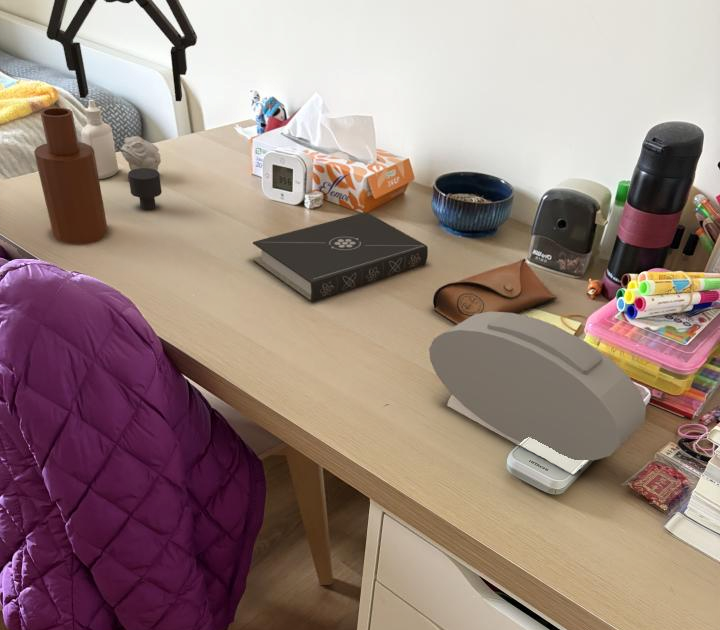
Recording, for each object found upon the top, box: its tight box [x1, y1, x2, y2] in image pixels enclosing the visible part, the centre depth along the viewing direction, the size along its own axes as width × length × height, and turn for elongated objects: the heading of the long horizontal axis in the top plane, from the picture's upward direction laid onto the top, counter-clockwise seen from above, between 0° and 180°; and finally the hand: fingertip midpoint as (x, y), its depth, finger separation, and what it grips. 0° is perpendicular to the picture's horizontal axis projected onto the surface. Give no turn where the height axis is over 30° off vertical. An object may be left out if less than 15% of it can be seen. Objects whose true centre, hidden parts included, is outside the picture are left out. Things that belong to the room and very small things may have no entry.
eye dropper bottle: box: [80, 99, 119, 180], centre depth 122 cm, size 4×6×12 cm
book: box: [252, 211, 429, 303], centre depth 106 cm, size 22×15×3 cm
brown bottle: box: [33, 107, 108, 245], centre depth 103 cm, size 8×8×17 cm
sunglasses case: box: [432, 258, 558, 326], centre depth 100 cm, size 18×7×7 cm
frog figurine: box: [120, 135, 162, 171], centre depth 124 cm, size 6×7×7 cm
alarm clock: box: [428, 312, 647, 461], centre depth 76 cm, size 23×6×13 cm, turn 48°
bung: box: [127, 168, 163, 212], centre depth 115 cm, size 5×5×6 cm
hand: (132, 97), depth 106 cm, fingers open, 13 cm apart
